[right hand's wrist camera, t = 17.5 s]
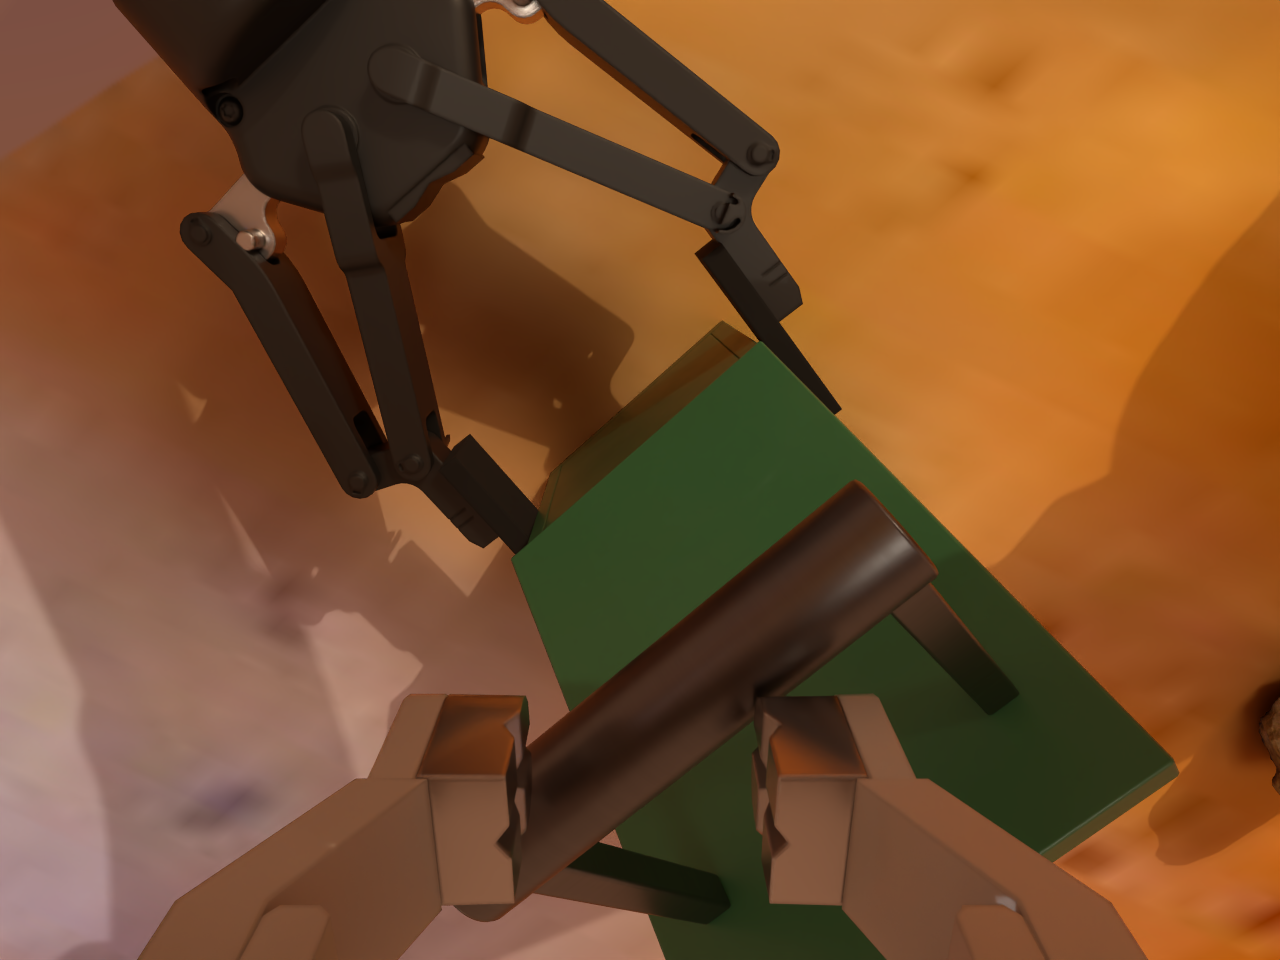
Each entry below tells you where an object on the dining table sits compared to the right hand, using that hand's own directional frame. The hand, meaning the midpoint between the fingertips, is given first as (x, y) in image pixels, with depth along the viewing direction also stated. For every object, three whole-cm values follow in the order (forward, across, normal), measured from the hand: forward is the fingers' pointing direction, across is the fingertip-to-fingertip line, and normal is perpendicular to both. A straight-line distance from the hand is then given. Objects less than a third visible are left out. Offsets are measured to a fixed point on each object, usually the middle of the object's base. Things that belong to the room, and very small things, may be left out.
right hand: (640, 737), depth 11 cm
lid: (+8, -3, +4) cm, 9 cm away
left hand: (+18, -2, +4) cm, 18 cm away
